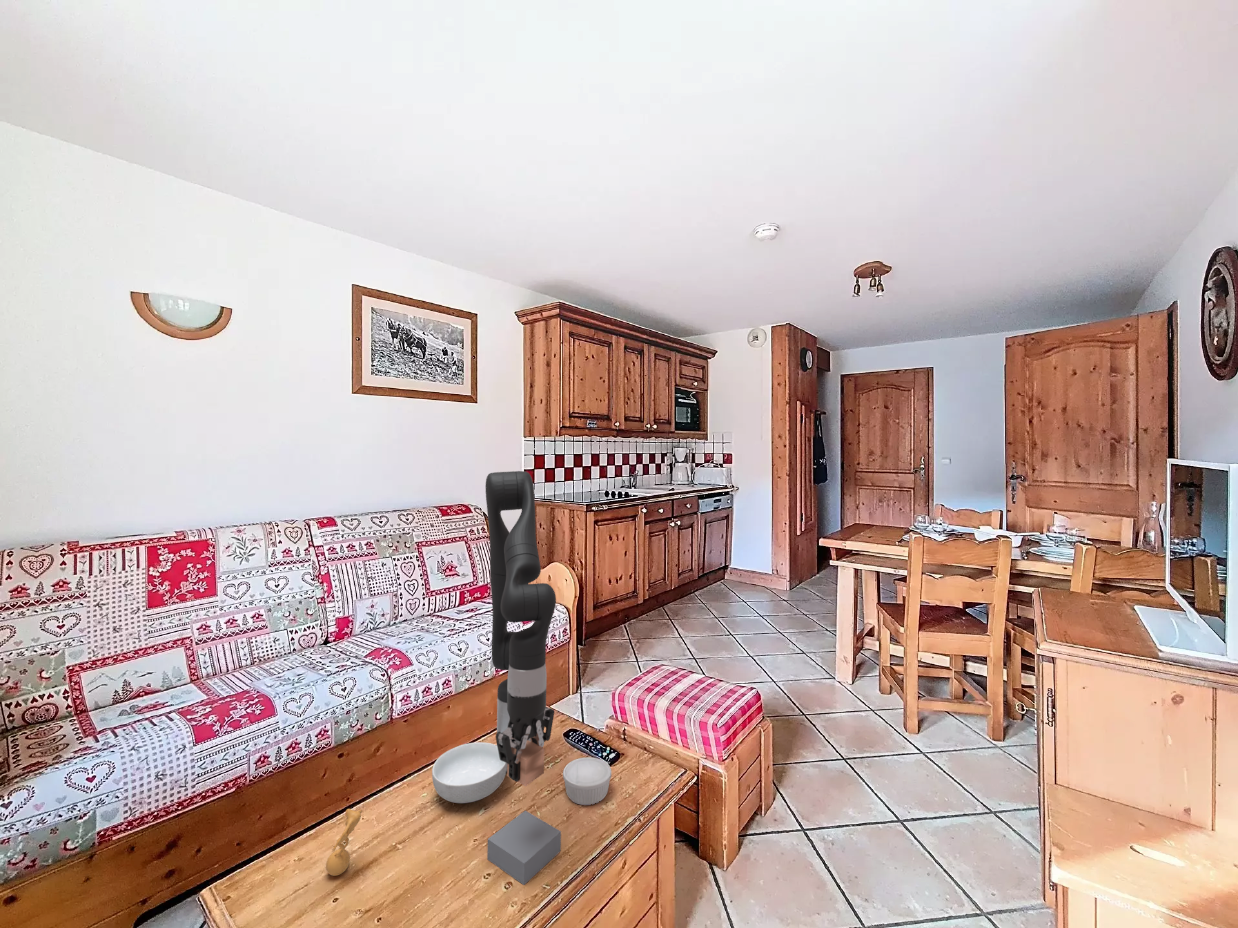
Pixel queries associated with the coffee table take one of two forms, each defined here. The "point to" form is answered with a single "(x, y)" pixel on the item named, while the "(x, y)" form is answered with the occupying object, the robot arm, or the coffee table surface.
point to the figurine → (341, 856)
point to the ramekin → (587, 780)
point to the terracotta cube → (530, 763)
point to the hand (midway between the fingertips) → (525, 771)
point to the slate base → (524, 846)
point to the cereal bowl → (468, 772)
